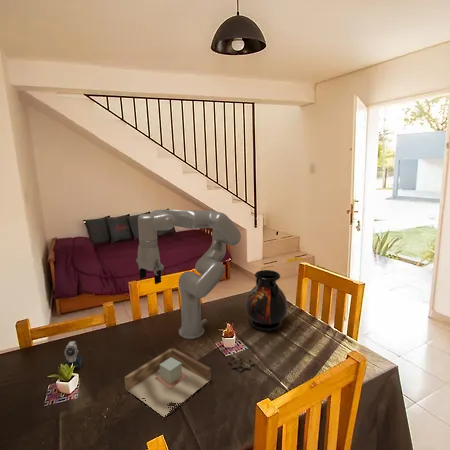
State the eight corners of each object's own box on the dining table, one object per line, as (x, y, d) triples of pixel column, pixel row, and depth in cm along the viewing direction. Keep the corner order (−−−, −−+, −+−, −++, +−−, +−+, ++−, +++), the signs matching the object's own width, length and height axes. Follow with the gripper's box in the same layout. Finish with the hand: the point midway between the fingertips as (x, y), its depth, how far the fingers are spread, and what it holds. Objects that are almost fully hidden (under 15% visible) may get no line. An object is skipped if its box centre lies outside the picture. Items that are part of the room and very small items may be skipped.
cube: (171, 370, 134) (171, 357, 133) (181, 376, 130) (181, 363, 129) (160, 377, 129) (159, 364, 128) (170, 384, 126) (170, 370, 124)
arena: (172, 359, 142) (172, 347, 141) (210, 381, 129) (210, 368, 128) (125, 390, 124) (124, 376, 123) (164, 419, 111) (163, 404, 109)
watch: (64, 373, 133) (61, 349, 131) (68, 361, 141) (66, 338, 139) (79, 371, 135) (76, 347, 132) (82, 359, 142) (80, 337, 140)
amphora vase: (238, 319, 177) (238, 270, 170) (271, 311, 186) (273, 264, 179) (258, 339, 158) (260, 285, 151) (295, 329, 167) (298, 278, 160)
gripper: (128, 241, 142) (131, 278, 146) (155, 248, 132) (157, 288, 136) (142, 237, 148) (144, 273, 152) (168, 244, 138) (170, 282, 142)
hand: (150, 280), depth 144 cm, fingers open, 9 cm apart
